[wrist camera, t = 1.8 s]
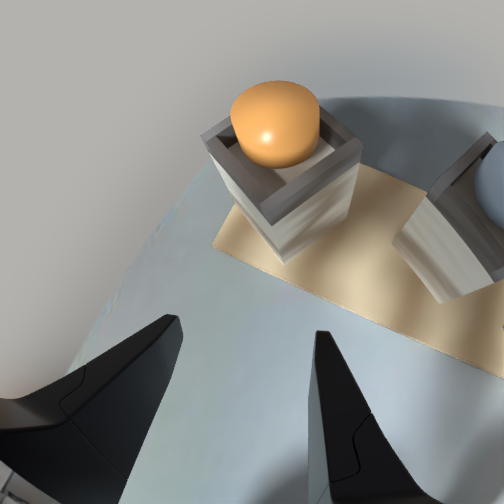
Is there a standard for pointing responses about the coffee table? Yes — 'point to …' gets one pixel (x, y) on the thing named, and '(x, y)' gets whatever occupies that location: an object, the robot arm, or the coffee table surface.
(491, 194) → the slate button
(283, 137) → the orange button
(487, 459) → the coffee table surface
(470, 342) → the button board
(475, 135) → the coffee table surface
